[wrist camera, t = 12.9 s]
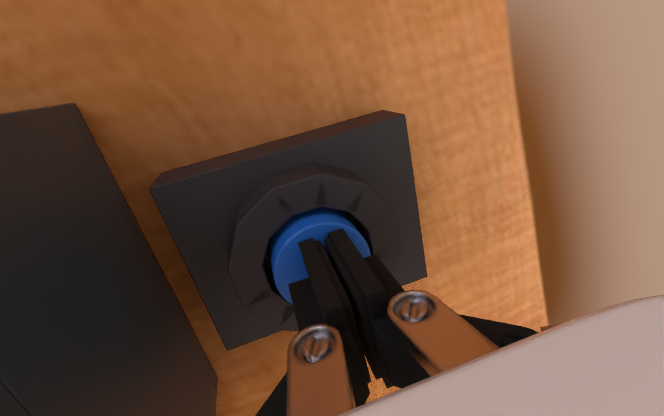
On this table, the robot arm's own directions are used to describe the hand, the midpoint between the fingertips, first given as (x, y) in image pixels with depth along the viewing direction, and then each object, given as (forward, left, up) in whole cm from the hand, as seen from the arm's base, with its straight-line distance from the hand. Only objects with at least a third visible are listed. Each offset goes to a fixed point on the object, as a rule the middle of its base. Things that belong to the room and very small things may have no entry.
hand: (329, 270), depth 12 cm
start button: (0, 0, -2) cm, 2 cm away
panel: (0, 0, -5) cm, 5 cm away
